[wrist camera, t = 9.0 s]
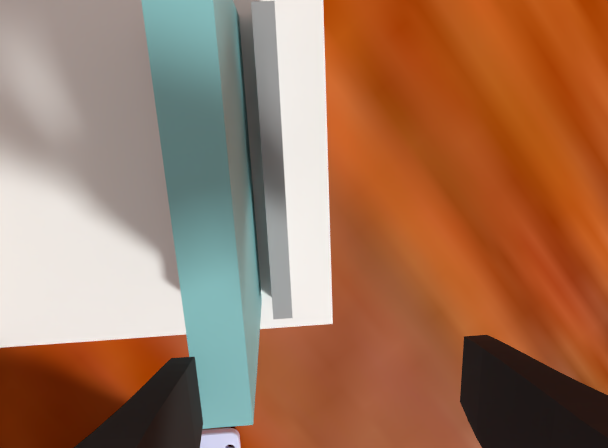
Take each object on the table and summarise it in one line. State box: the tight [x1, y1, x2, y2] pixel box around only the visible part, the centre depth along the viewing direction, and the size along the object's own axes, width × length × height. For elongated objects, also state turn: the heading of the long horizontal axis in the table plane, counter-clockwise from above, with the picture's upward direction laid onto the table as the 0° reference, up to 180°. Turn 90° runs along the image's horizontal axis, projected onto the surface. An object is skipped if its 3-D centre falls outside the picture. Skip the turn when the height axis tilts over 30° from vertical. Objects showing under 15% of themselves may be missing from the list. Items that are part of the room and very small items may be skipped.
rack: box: [0, 0, 333, 348], centre depth 17 cm, size 15×24×4 cm, turn 93°
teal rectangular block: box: [141, 0, 262, 429], centre depth 14 cm, size 12×2×8 cm, turn 3°
